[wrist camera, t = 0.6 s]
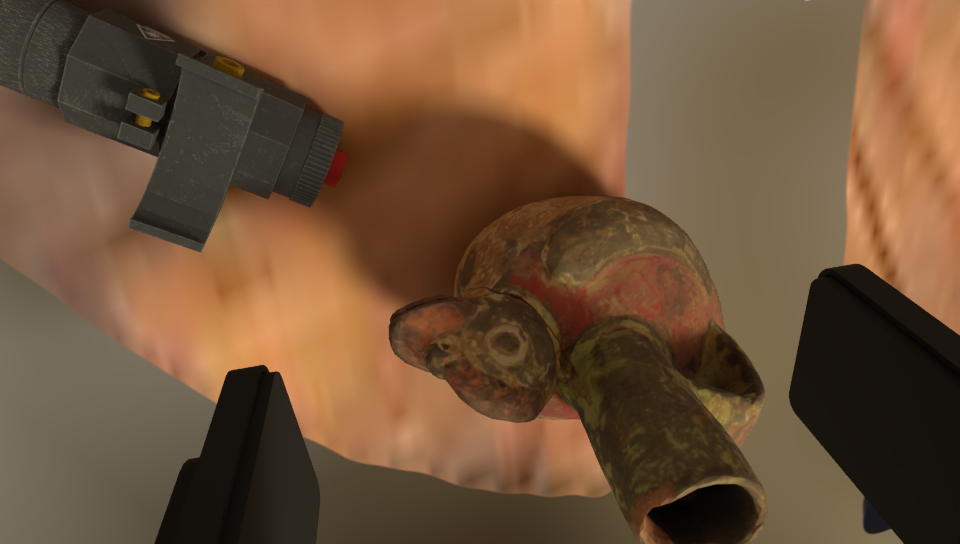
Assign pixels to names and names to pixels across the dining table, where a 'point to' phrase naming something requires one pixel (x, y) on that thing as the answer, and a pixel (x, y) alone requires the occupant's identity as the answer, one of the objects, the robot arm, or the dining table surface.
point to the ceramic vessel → (605, 357)
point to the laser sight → (170, 112)
